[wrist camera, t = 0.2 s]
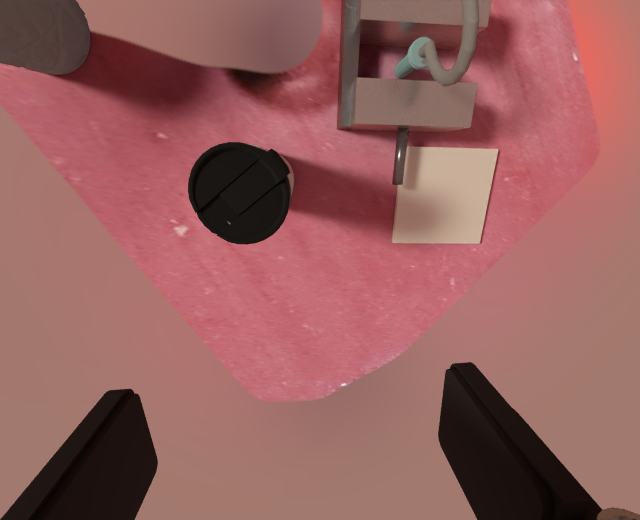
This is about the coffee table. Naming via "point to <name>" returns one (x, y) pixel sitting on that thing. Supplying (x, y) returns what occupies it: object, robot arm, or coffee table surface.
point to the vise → (396, 94)
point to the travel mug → (241, 191)
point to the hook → (426, 54)
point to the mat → (443, 195)
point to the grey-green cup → (43, 35)
